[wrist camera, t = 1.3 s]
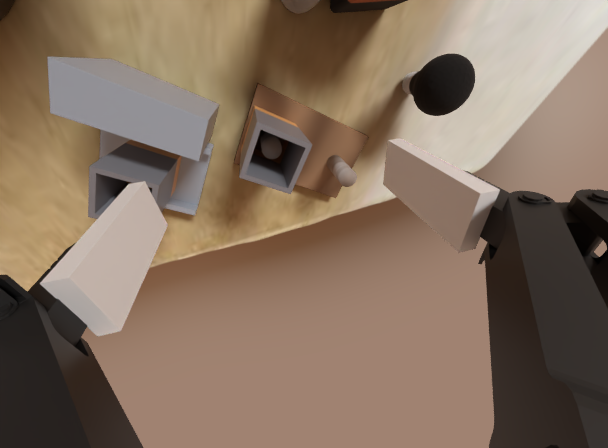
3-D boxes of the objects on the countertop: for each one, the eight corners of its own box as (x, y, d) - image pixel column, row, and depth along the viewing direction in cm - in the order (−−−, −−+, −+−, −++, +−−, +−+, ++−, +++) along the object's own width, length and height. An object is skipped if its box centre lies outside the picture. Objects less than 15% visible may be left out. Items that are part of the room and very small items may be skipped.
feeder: (100, 182, 32) (49, 224, 24) (106, 56, 25) (38, 52, 17) (197, 208, 36) (182, 250, 28) (223, 106, 30) (214, 122, 21)
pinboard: (234, 159, 33) (231, 181, 27) (257, 82, 29) (260, 88, 23) (332, 193, 39) (348, 217, 33) (364, 134, 35) (389, 149, 29)
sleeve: (129, 177, 31) (88, 217, 23) (133, 137, 29) (89, 166, 21) (175, 189, 34) (151, 230, 25) (182, 153, 31) (158, 185, 23)
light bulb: (383, 67, 31) (432, 68, 23) (426, 47, 30) (492, 41, 22) (390, 113, 34) (435, 129, 26) (429, 95, 34) (487, 106, 26)
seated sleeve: (241, 147, 31) (238, 177, 23) (254, 105, 29) (257, 121, 21) (280, 162, 33) (290, 194, 25) (295, 123, 31) (312, 144, 23)
